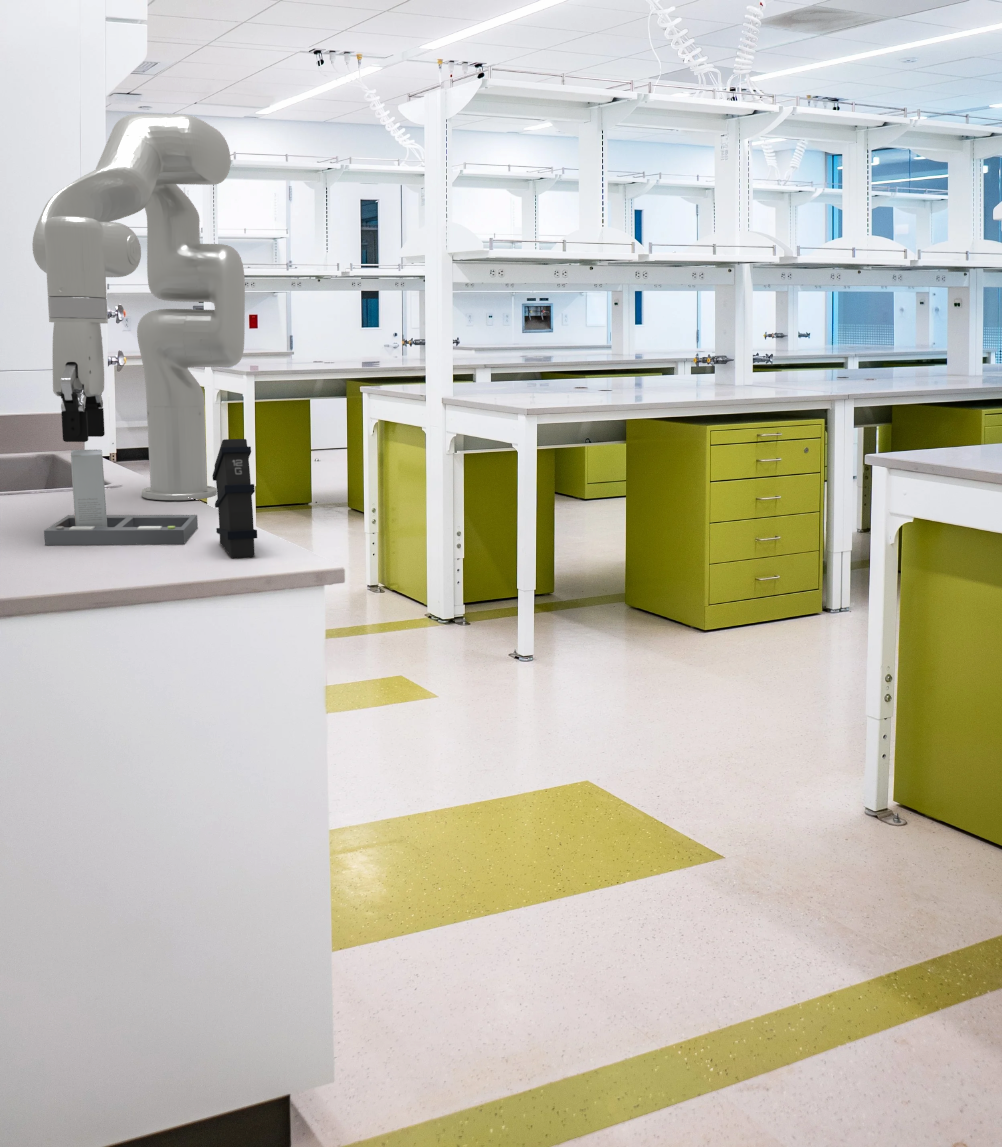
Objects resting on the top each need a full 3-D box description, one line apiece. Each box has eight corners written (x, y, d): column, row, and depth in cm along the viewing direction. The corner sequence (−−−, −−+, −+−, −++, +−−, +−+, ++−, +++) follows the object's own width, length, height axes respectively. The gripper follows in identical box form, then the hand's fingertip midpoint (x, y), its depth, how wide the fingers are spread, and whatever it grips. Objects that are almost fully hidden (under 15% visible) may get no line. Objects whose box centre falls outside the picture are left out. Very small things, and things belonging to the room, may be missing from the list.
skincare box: (75, 533, 169) (70, 449, 167) (107, 532, 171) (102, 449, 168) (75, 541, 164) (70, 454, 161) (108, 539, 165) (103, 453, 163)
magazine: (231, 550, 150) (220, 438, 153) (220, 575, 162) (210, 471, 165) (261, 549, 151) (249, 437, 154) (248, 574, 163) (237, 470, 166)
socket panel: (68, 528, 173) (67, 513, 173) (197, 528, 175) (197, 512, 175) (44, 545, 160) (43, 528, 160) (184, 544, 162) (183, 527, 162)
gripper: (65, 313, 169) (71, 434, 172) (31, 309, 152) (39, 443, 155) (120, 314, 170) (125, 434, 173) (91, 310, 153) (98, 444, 156)
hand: (84, 438), depth 164 cm, fingers open, 9 cm apart
